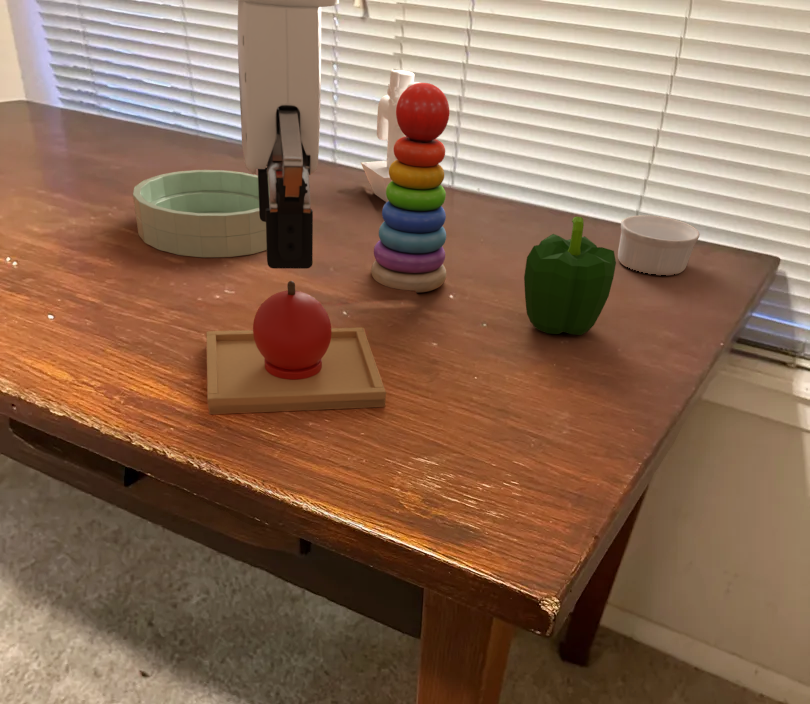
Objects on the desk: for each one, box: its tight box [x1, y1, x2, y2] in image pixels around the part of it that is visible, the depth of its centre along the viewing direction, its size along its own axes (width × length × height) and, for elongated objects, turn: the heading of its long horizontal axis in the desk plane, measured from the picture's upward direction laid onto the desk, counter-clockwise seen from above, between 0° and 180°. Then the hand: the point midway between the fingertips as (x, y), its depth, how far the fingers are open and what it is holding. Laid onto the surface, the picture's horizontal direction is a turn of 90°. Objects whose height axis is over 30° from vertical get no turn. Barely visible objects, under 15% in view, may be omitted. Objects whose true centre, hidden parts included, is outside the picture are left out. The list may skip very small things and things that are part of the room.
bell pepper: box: [523, 216, 617, 336], centre depth 77 cm, size 8×8×10 cm
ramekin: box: [617, 214, 701, 276], centre depth 94 cm, size 9×9×4 cm
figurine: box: [360, 68, 421, 203], centre depth 105 cm, size 7×9×15 cm
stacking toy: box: [370, 82, 450, 294], centre depth 81 cm, size 8×8×19 cm
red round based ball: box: [252, 280, 332, 380], centre depth 66 cm, size 6×6×7 cm
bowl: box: [132, 169, 267, 258], centre depth 92 cm, size 17×17×5 cm
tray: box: [205, 327, 387, 415], centre depth 69 cm, size 14×12×1 cm
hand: (284, 242), depth 62 cm, fingers open, 9 cm apart
